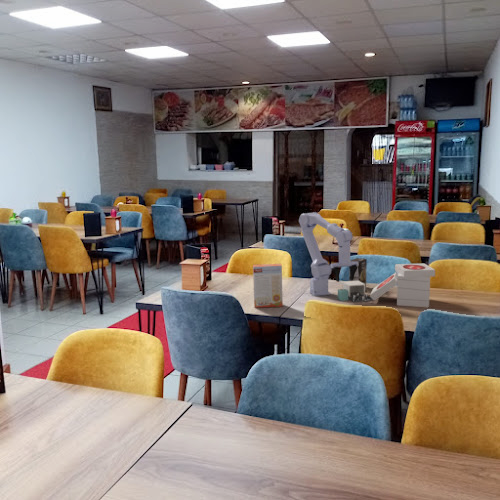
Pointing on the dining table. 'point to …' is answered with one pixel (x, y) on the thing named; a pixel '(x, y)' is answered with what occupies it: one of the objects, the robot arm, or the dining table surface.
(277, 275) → the cracker box
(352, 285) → the housing cover
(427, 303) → the pizza box stack
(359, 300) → the pin base
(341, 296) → the jaw block
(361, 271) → the coffee box
